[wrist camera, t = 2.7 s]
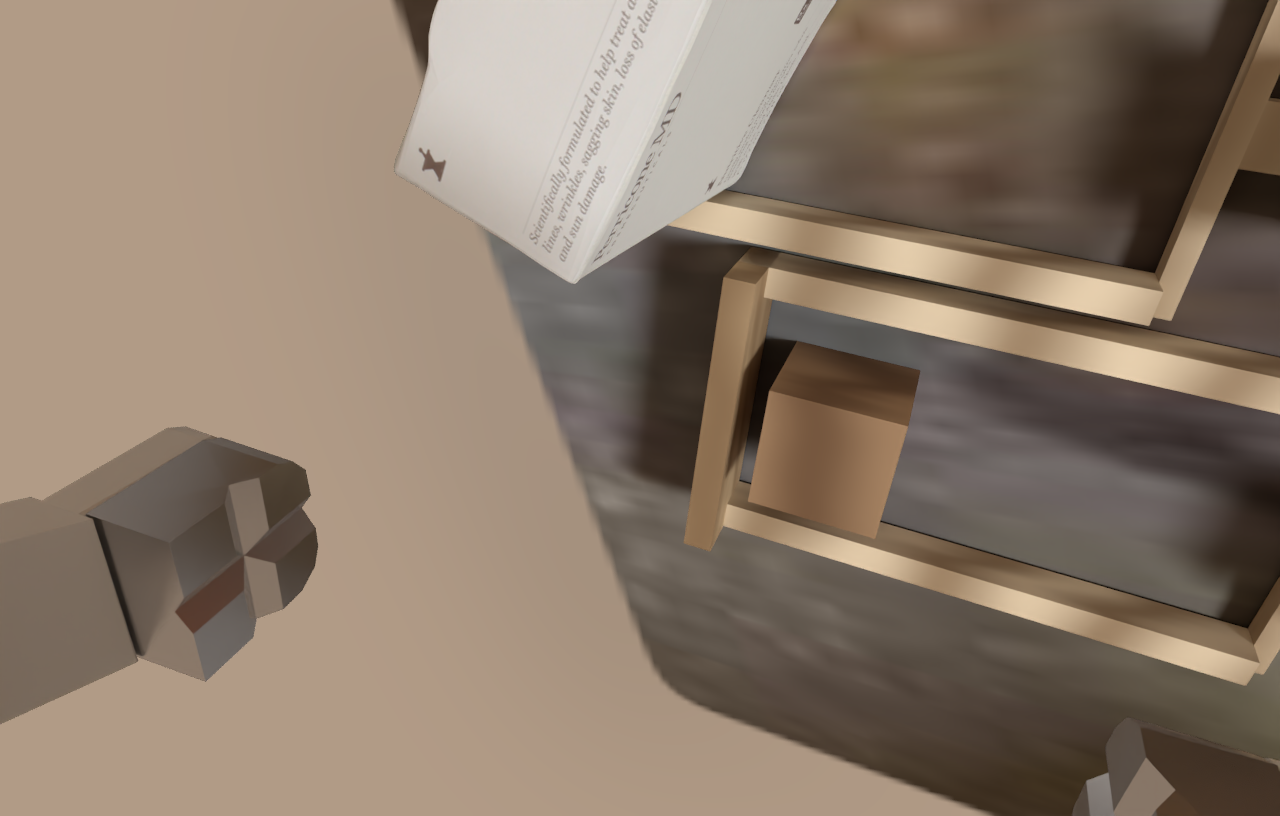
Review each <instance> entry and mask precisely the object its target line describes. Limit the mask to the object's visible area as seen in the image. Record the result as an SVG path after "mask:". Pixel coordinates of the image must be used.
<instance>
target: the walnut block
mask: <svg viewBox="0 0 1280 816" xmlns="http://www.w3.org/2000/svg"><path fill="white" fill-rule="evenodd" d="M919 374H920V370H916V369H912V368H908V367H903V366H899V365H895V364H891V363H887V362H883V361H878V360H874V359H870V358H866V357H862V356H858V355H853V354H849V353H845V352H841V351H837V350H833V349H828V348H824V347H820V346H816V345H812V344H808V343H804V342H799V341H797V342H796V344H795V346H794V348H793V349H792V351H791V353H790V355H789V357H788V358H787V360H786V362H785V364H784V365H783V367H782V369H781V371H780V373H779V374H778V376H777V378H776V380H775V381H774V383H773V385H772V387H771V389H770V390H769V395H768V400H767V406H766V411H765V416H764V421H763V426H762V431H761V436H760V442H759V447H758V452H757V457H756V462H755V467H754V472H753V478H752V483H751V488H750V493H749V498H748V501H749V502H752V503H755V504H759V505H762V506H765V507H769V508H772V509H775V510H779V511H782V512H786V513H789V514H792V515H796V516H799V517H802V518H806V519H809V520H812V521H816V522H819V523H823V524H826V525H829V526H833V527H836V528H839V529H843V530H846V531H850V532H853V533H856V534H860V535H863V536H866V537H870V538H873V539H875V537H876V534H877V531H878V527H879V524H880V520H881V517H882V514H883V510H884V507H885V503H886V500H887V497H888V493H889V490H890V486H891V483H892V480H893V476H894V473H895V469H896V466H897V463H898V459H899V456H900V452H901V449H902V446H903V442H904V439H905V435H906V432H907V429H908V425H909V420H910V416H911V411H912V407H913V402H914V397H915V393H916V388H917V384H918V379H919Z"/></svg>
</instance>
